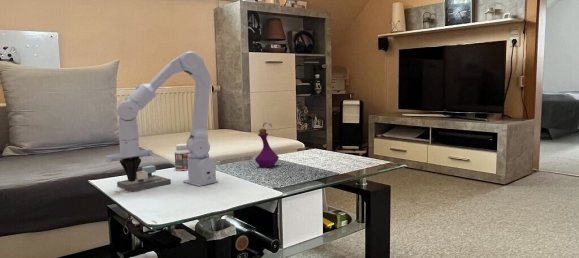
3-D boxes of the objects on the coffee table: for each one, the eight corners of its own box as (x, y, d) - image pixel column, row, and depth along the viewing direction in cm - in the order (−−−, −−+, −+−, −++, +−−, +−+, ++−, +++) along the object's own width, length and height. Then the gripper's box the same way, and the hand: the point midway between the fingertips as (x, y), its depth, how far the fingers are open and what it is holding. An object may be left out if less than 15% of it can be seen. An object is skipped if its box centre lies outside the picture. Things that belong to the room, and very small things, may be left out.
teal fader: (155, 175, 147) (155, 166, 146) (146, 177, 144) (145, 167, 144) (151, 174, 149) (151, 165, 148) (142, 176, 146) (141, 166, 146)
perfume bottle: (254, 167, 166) (253, 122, 164) (262, 164, 173) (261, 120, 171) (271, 168, 164) (270, 123, 162) (279, 165, 170) (278, 121, 168)
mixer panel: (170, 183, 142) (170, 179, 142) (132, 191, 132) (132, 186, 132) (154, 178, 150) (154, 174, 149) (117, 186, 140) (117, 181, 140)
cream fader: (148, 181, 138) (147, 171, 137) (137, 183, 135) (137, 173, 135) (143, 180, 140) (143, 170, 139) (133, 182, 137) (132, 172, 137)
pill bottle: (186, 171, 162) (185, 145, 161) (172, 170, 163) (171, 145, 162) (192, 168, 168) (191, 143, 167) (179, 167, 169) (178, 143, 168)
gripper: (144, 135, 141) (146, 175, 143) (100, 140, 131) (103, 183, 133) (154, 137, 137) (157, 178, 138) (110, 142, 126) (113, 186, 128)
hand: (131, 181), depth 135 cm, fingers closed
